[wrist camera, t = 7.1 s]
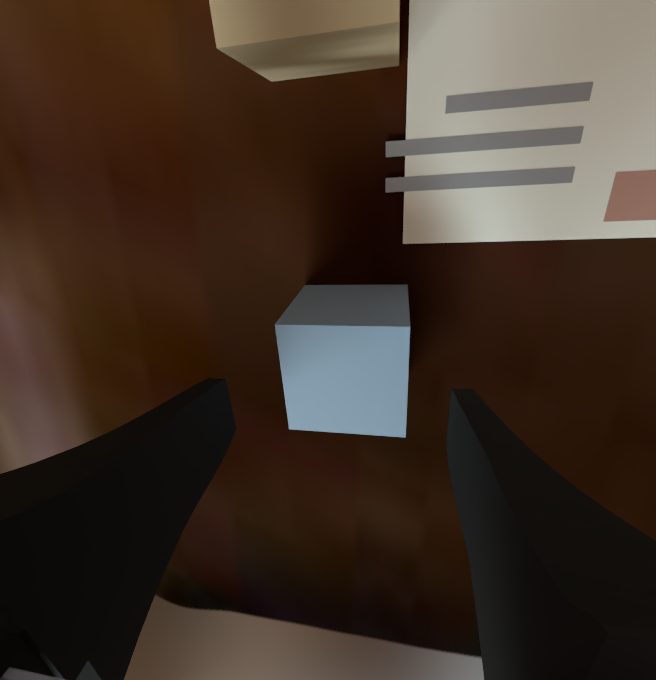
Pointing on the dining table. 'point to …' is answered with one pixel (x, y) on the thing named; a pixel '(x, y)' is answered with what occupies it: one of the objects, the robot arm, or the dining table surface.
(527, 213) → the letter
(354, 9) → the oak block
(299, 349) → the slate cube
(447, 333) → the dining table surface
